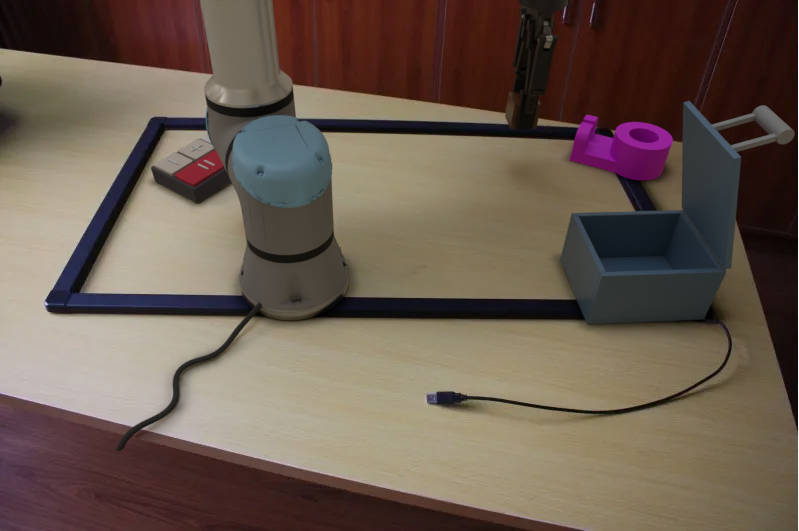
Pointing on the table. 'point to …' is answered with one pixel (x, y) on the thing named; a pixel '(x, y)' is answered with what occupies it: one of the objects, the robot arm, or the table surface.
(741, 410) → the table surface
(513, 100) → the block
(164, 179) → the calculator
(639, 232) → the compartment
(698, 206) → the lid
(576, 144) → the tape dispenser
